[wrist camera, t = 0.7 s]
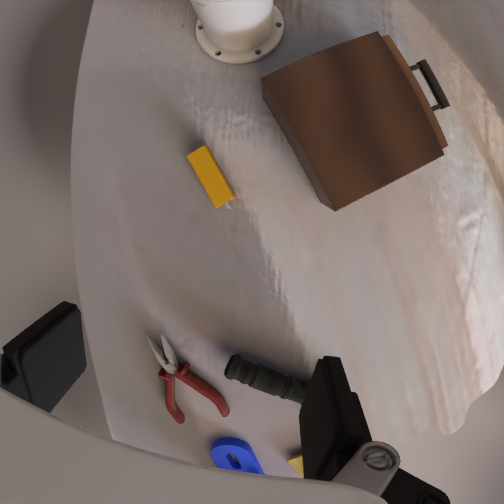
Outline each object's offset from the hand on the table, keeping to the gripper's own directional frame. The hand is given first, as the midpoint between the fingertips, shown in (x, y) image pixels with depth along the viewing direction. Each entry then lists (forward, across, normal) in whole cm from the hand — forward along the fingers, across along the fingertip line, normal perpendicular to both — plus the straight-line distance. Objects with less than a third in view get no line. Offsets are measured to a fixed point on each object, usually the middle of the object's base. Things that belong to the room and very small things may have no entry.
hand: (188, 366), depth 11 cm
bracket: (+33, -6, +52) cm, 62 cm away
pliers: (+33, +6, +29) cm, 44 cm away
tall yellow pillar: (+33, +6, -5) cm, 34 cm away
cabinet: (+33, -10, -15) cm, 38 cm away
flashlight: (+33, -10, +25) cm, 43 cm away
